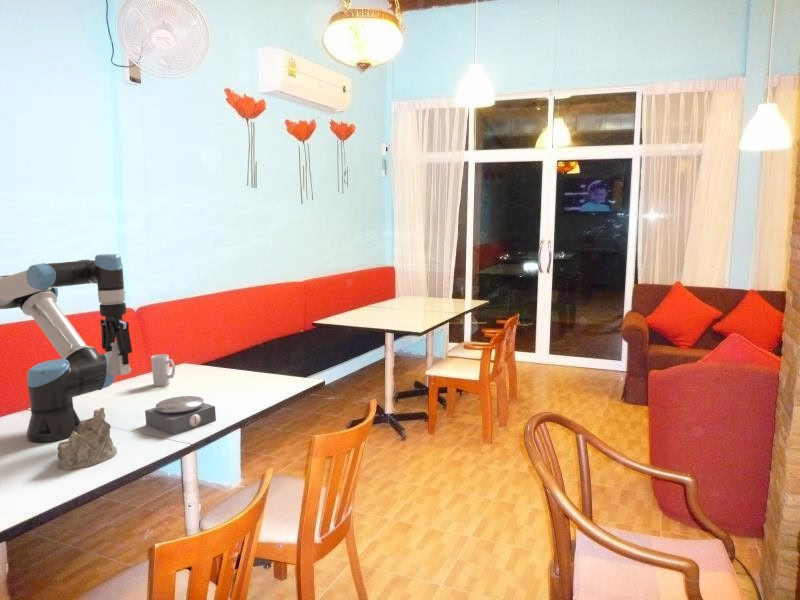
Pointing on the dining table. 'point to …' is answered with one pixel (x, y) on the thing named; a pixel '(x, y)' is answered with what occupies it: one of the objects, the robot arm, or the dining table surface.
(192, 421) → the base
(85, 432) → the ceramic cottage
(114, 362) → the flask
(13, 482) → the dining table surface
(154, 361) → the mug
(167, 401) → the scale pan
